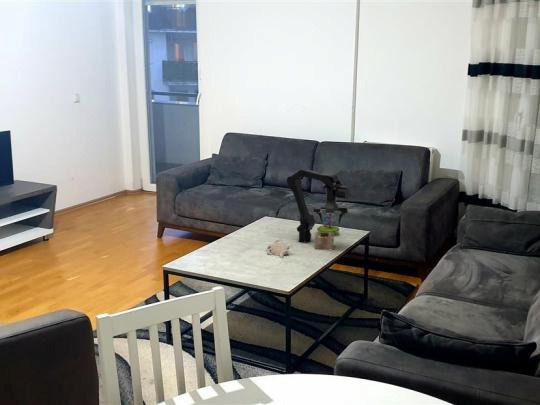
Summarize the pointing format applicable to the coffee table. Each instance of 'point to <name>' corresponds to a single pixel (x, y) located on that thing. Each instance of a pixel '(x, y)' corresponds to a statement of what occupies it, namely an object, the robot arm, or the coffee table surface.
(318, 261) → the coffee table surface
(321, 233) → the coin box
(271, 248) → the turtle
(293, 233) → the coffee table surface
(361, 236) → the coffee table surface
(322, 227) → the potted plant
